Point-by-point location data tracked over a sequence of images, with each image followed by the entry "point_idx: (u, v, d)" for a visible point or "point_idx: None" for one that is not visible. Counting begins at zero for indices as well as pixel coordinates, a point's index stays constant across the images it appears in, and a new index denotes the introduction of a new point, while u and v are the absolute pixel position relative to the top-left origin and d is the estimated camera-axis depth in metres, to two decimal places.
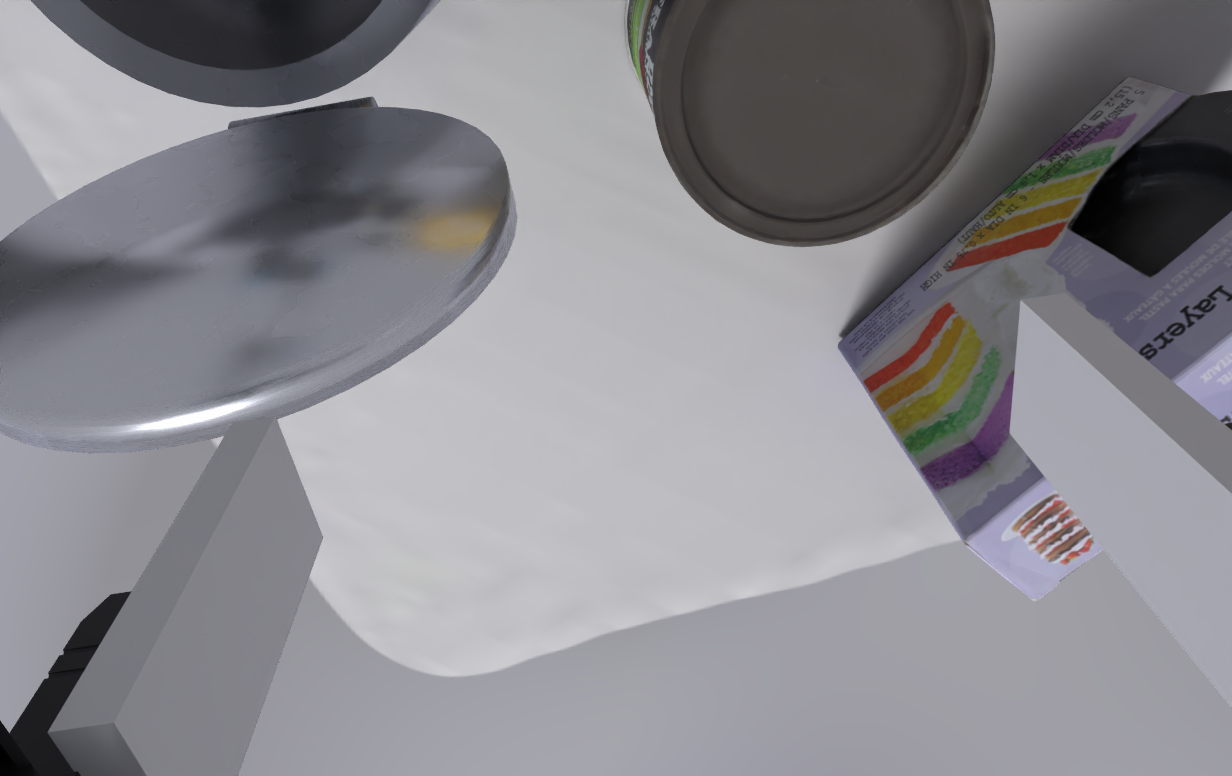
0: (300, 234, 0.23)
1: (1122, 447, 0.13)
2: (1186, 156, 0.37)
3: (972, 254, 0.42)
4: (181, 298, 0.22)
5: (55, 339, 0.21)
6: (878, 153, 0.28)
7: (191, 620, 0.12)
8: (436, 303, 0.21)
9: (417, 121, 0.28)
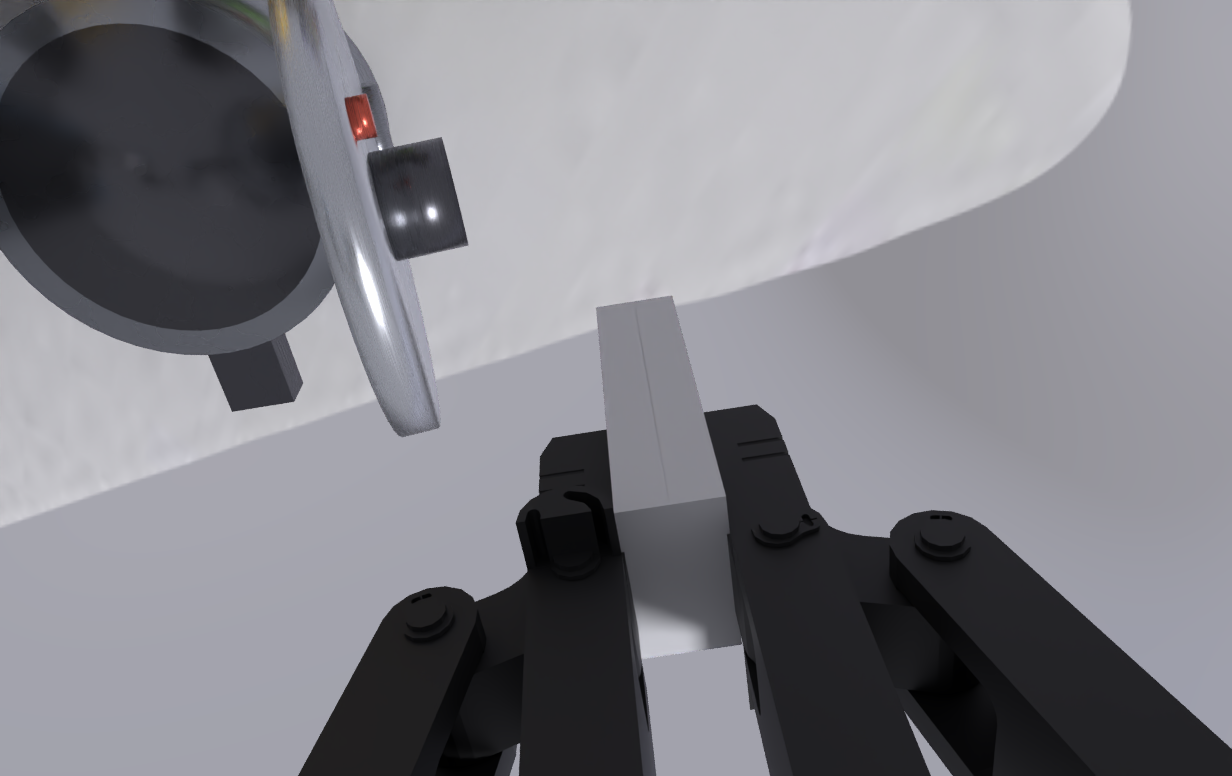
0: None
1: None
2: None
3: None
4: None
5: None
6: None
7: None
8: (294, 48, 0.23)
9: None
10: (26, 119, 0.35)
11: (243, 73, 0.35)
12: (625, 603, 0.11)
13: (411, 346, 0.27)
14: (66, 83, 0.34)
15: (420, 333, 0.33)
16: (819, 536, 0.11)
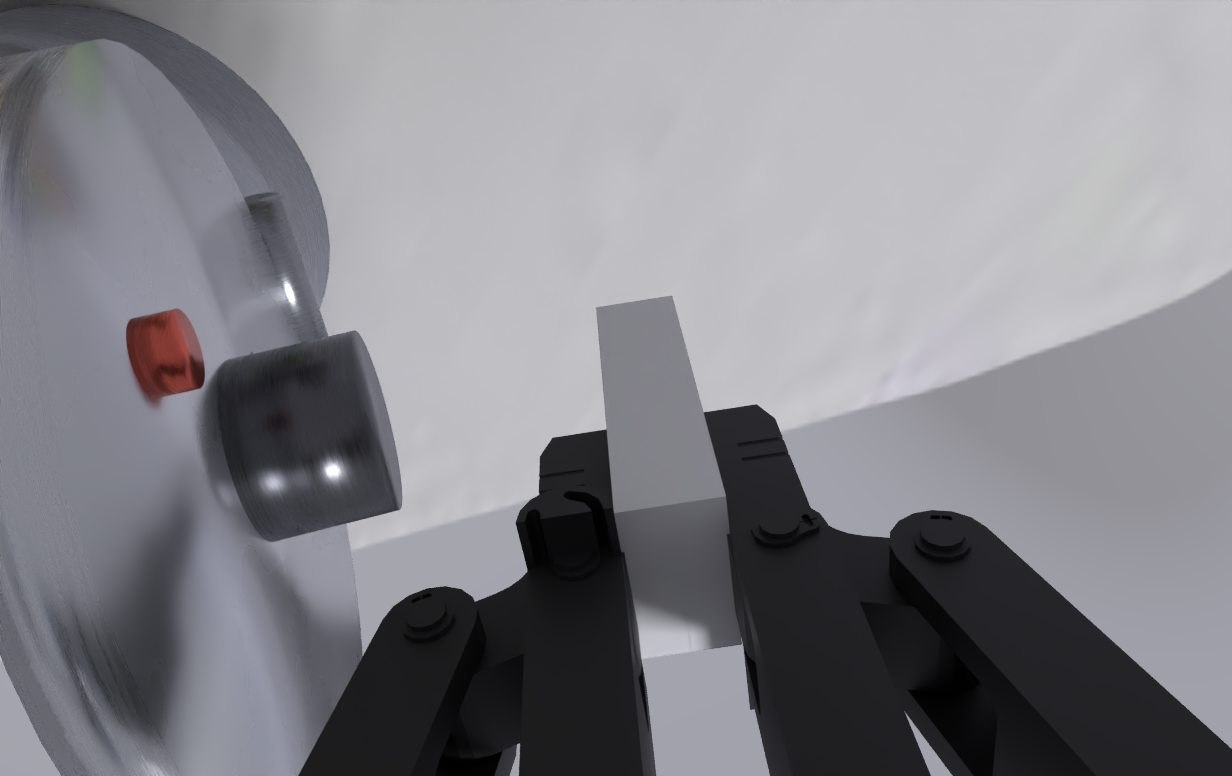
0: None
1: None
2: None
3: None
4: None
5: None
6: None
7: None
8: None
9: None
10: None
11: None
12: (625, 603, 0.11)
13: (276, 758, 0.14)
14: None
15: (331, 619, 0.20)
16: (819, 536, 0.11)
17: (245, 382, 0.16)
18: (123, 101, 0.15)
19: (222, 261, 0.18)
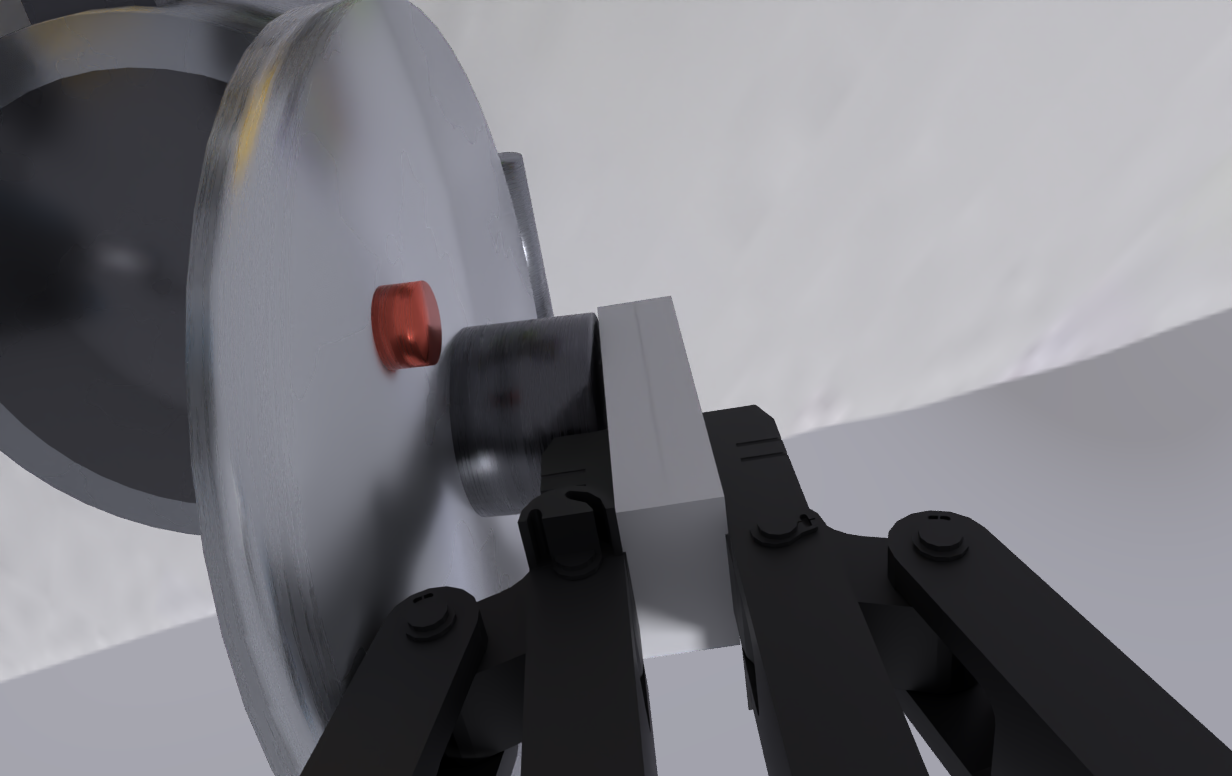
0: None
1: None
2: None
3: None
4: None
5: None
6: None
7: None
8: (231, 225, 0.10)
9: None
10: None
11: None
12: (626, 603, 0.11)
13: None
14: (47, 159, 0.22)
15: None
16: (817, 536, 0.11)
17: (478, 355, 0.16)
18: (397, 58, 0.15)
19: (471, 224, 0.18)
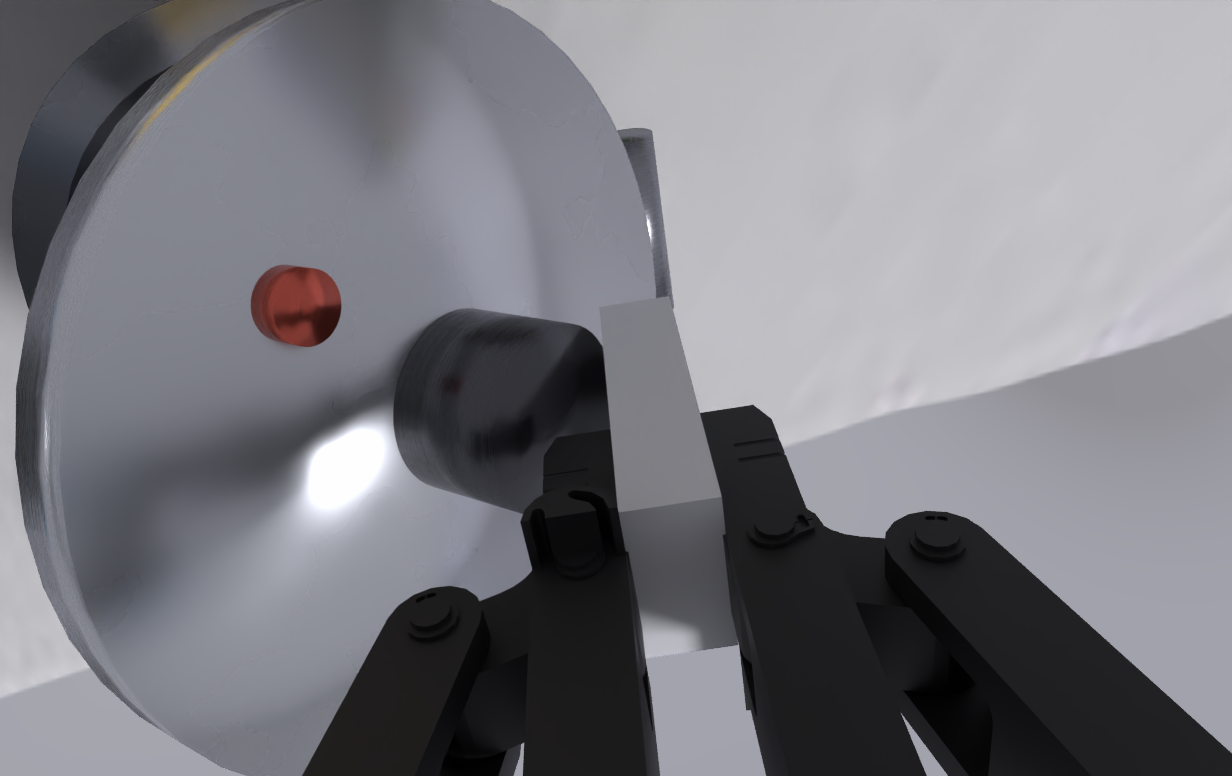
0: None
1: None
2: None
3: None
4: None
5: None
6: None
7: None
8: (90, 199, 0.12)
9: None
10: None
11: None
12: (629, 602, 0.11)
13: (310, 680, 0.16)
14: None
15: (525, 571, 0.21)
16: (814, 537, 0.11)
17: (440, 340, 0.16)
18: (401, 47, 0.15)
19: (521, 208, 0.18)
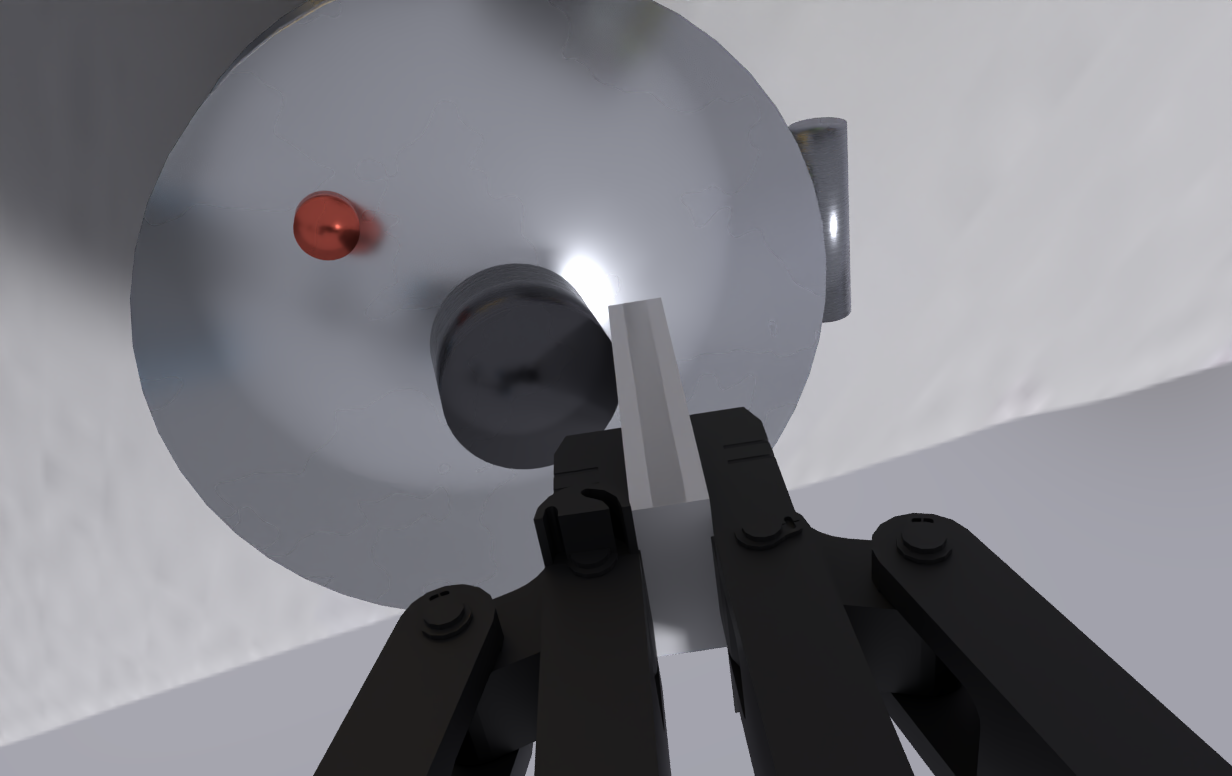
0: None
1: None
2: None
3: None
4: None
5: None
6: None
7: None
8: None
9: None
10: None
11: None
12: (641, 601, 0.11)
13: (321, 508, 0.20)
14: None
15: None
16: (801, 538, 0.11)
17: (473, 285, 0.18)
18: (481, 22, 0.17)
19: (620, 186, 0.19)
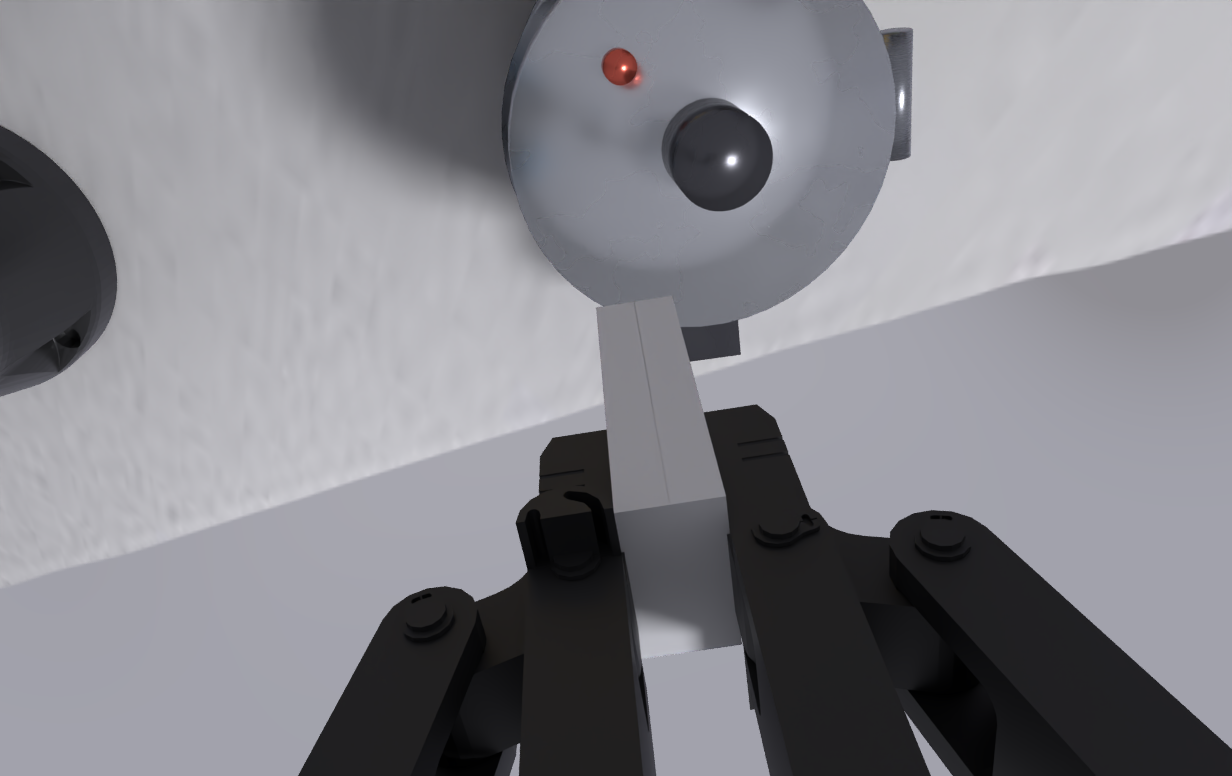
0: None
1: None
2: None
3: None
4: None
5: None
6: None
7: None
8: (556, 3, 0.32)
9: None
10: None
11: None
12: (625, 603, 0.11)
13: (589, 241, 0.35)
14: None
15: (730, 264, 0.37)
16: (819, 536, 0.11)
17: (692, 107, 0.33)
18: None
19: (777, 54, 0.33)
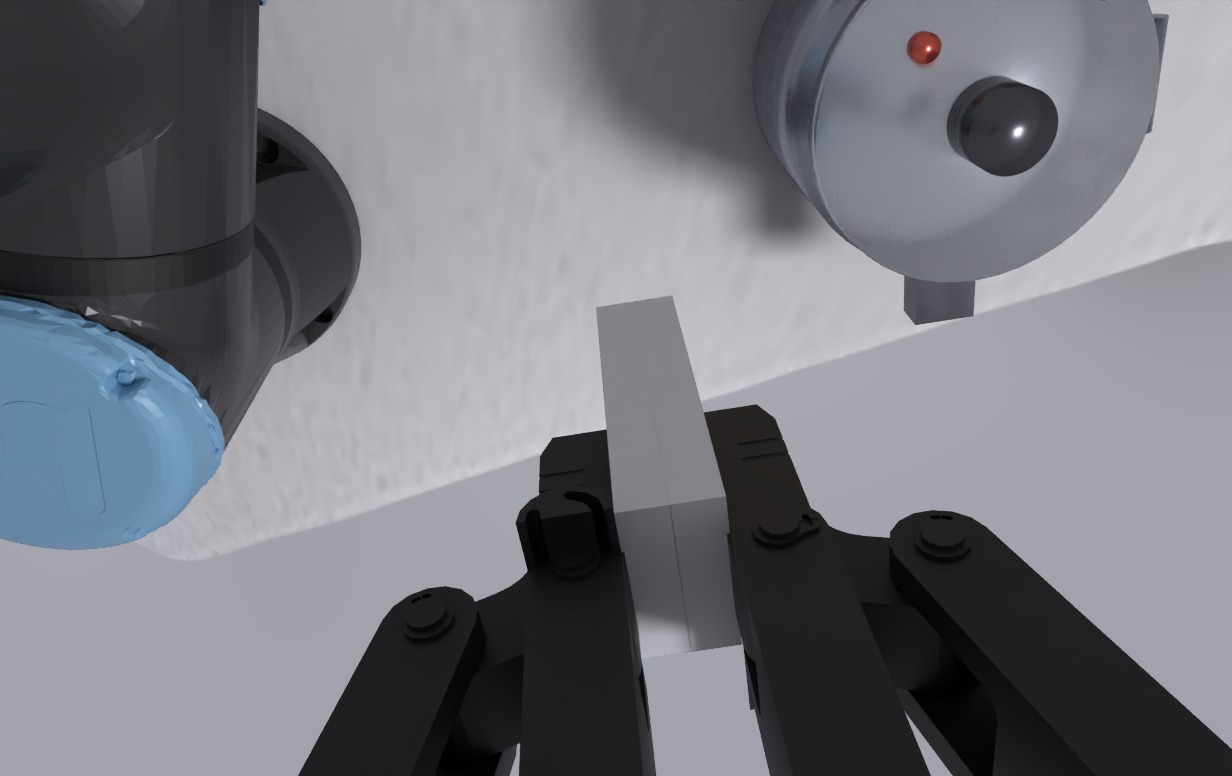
0: None
1: None
2: None
3: None
4: None
5: None
6: None
7: None
8: None
9: None
10: None
11: None
12: (625, 603, 0.11)
13: (872, 202, 0.40)
14: None
15: (992, 225, 0.41)
16: (819, 536, 0.11)
17: (982, 83, 0.38)
18: None
19: (1060, 38, 0.37)
